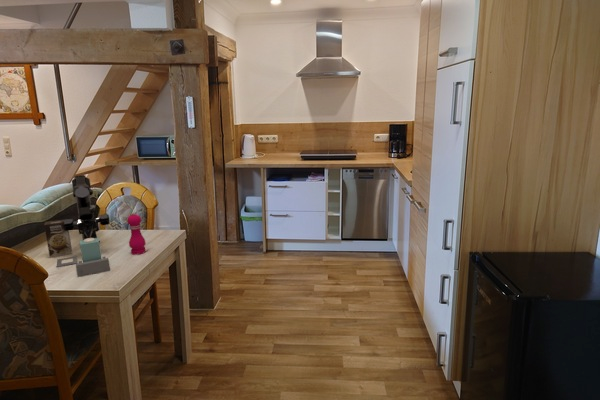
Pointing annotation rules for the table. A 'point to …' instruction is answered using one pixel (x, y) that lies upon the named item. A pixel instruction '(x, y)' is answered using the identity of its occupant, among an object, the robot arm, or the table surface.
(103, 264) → the gray support stand
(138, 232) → the pepper mill
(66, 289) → the table surface
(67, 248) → the cookie box
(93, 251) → the teal tall block
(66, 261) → the card
